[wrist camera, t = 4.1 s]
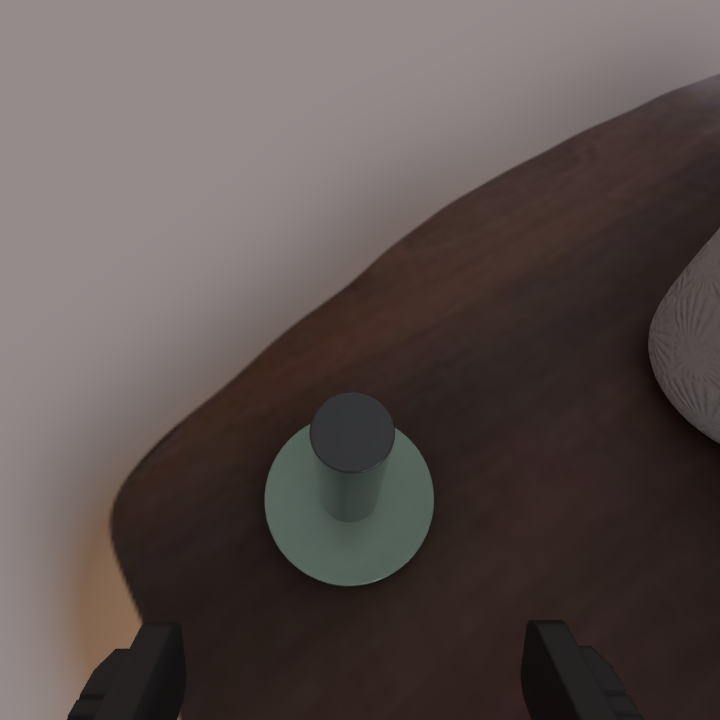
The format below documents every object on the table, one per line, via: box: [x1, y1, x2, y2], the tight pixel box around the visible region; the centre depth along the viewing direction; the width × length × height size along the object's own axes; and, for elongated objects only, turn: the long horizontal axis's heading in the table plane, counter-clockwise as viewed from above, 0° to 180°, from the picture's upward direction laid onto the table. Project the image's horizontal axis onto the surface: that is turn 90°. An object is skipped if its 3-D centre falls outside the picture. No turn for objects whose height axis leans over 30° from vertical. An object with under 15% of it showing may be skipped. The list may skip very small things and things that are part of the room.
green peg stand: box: [264, 393, 434, 587], centre depth 20 cm, size 8×8×9 cm
